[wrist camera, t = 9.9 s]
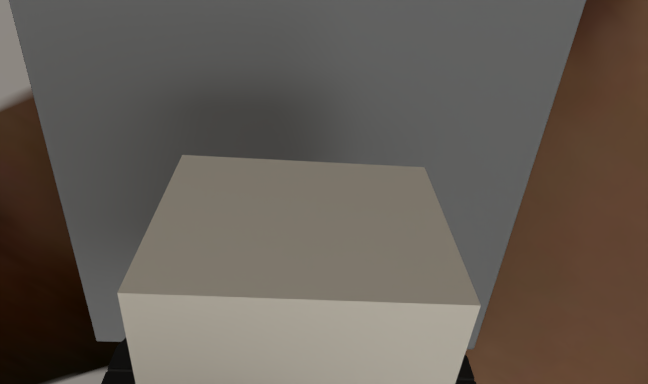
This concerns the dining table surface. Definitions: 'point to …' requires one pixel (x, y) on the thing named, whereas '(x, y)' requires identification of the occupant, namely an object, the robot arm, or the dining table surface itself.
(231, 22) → the mat
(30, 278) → the dining table surface
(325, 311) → the cream block
